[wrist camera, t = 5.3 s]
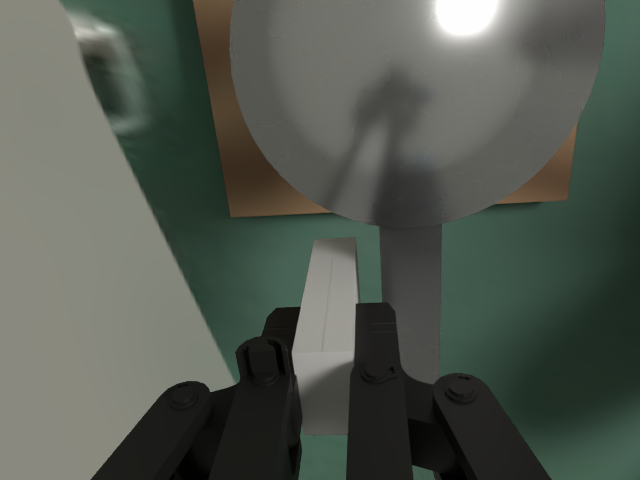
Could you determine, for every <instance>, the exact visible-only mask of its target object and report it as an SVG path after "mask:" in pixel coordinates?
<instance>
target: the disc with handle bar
mask: <svg viewBox="0 0 640 480" xmlns="http://www.w3.org/2000/svg"><path fill="white" fill-rule="evenodd" d="M604 31H605V0H234V3H233V10H232V16H231V23H230V48H229V51H230V62H231V73H232V79H233V83H234V88H235V93H236V97H237V101H238V103H239V106H240V109H241V112H242V115H243V118H244V121H245V123H246V125H247V127H248V129H249V131H250V133H251V135H252V137H253V139H254V141H255V142H256V144H257V145H258V147H259V148H260V150H261V151H262V153H263V155H264V156H265V158H266V159H267V160H268V161H269V163H270V164H271V165H272V166H273V167H274V169H275V170H276V171H277V172H278V173H279V174H280V176H282V177H283V178H284V179H285V180H286V181H287V182H288V183H289V184H290V185H291V186H292V187H293V188H295V189H296V190H297V191H298V192H300V193H301V194H303V195H304V196H305V197H307V198H308V199H310V200H311V201H312V202H314V203H316V204H318V205H319V206H321V207H323V208H325V209H327V210H329V211H331V212H333V213H335V214H338V215H340V216H343V217H346V218H348V219H351V220H355V221H358V222H362V223H366V224H370V225H377V226H379V232H380V257H381V281H382V303H383V302H388V303H389V304H390V306H391V307H392V308H393V309H394V310H395V313H396V323H397V332H398V342H399V352H400V362H401V366H402V368H403V370H404V371H405V373H407V374H408V375H409V376H410V377H412V378H414V379H416V380H418V381H421V382H424V383H429V384H434V383H435V382H436V381H437V380H438V379H439V369H440V305H441V241H442V223H446V222H451V221H455V220H458V219H461V218H463V217H466V216H469V215H472V214H475V213H477V212H479V211H481V210H483V209H485V208H487V207H489V206H492V205H494V204H496V203H497V202H499V201H500V200H502V199H504V198H505V197H507V196H508V195H510V194H511V193H513V192H515V191H516V190H517V189H518V188H520V187H521V186H522V185H523V184H525V183H526V182H527V181H528V180H530V179H531V178H532V177H533V176H534V175H535V174H536V173H537V172H538V171H539V170H540V169H541V168H542V167H543V166H544V165H545V164H546V163H547V162H548V161H549V160H550V159H551V158H552V157H553V155H554V154H555V153H556V152H557V150H558V149H559V148H560V147H561V145H562V144H563V143H564V142H565V140H566V139H567V137H568V136H569V134H570V132H571V131H572V129H573V128H574V126H575V124H576V123H577V121H578V119H579V118H580V115H581V113H582V111H583V109H584V107H585V105H586V103H587V101H588V98H589V96H590V94H591V91H592V88H593V85H594V82H595V79H596V76H597V73H598V69H599V64H600V59H601V54H602V49H603V44H604Z"/></svg>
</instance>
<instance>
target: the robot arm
mask: <svg viewBox="0 0 640 480" xmlns="http://www.w3.org/2000/svg"><path fill="white" fill-rule="evenodd" d="M235 353H236V358H237V363H238V368H239V373H240V381H239V383H237V384H236V385H234V386H231V387H228V388H225V389H222V390H218V391H214V392H210V391H209V388H208V387H207V386H206V385H205V384H203V383H200V382H197V381H187V382H183V383H179V384H176V385H174V386H172V387H170V388H168V389H167V390H166V391H165V392H164V393H163V394H162V395H161V396H160V397H159V398H158V399H157V401H156V402H155V403H154V404H153V405H152V407H151V408H150V409H149V410H148V411H147V413H146V414H145V415H144V416H143V417H142V419H141V420H140V421H139V422H138V423H137V425H136V426H135V427H134V428H133V429H132V431H131V432H130V433H129V434H128V435H127V437H126V438H125V439H124V440H123V441H122V443H121V444H120V445H119V446H118V447H117V449H116V450H115V451H114V452H113V454H112V455H111V456H110V457H109V458H108V459H107V461H106V462H105V463H104V464H103V466H102V467H101V468H100V469H99V470H98V471H97V473H96V474H95V475H94V476H93V477H92V479H91V480H298V477H299V470H300V462H301V455H302V447H301V440H300V432H301V425H302V427H303V434H304V435H348V444H347V470H346V480H413V471H412V465H414V466H418V467H422V468H425V469H429V470H432V471H433V473H434V477H435V479H436V480H551V478H550V477H549V475H548V474H547V472H546V471H545V469H544V468H543V467H542V465H541V464H540V462H539V461H538V459H537V458H536V456H535V455H534V453H533V452H532V451H531V449H530V448H529V446H528V445H527V443H526V442H525V440H524V439H523V437H522V436H521V434H520V433H519V432H518V430H517V429H516V427H515V426H514V424H513V423H512V421H511V420H510V418H509V417H508V416H507V414H506V413H505V411H504V410H503V408H502V407H501V405H500V404H499V402H498V401H497V399H496V398H495V397H494V395H493V394H492V392H491V391H490V389H489V388H488V386H487V385H486V384H485V383H483V382H482V381H481V380H480V379H478V378H476V377H474V376H472V375H467V374H462V373H454V374H448V375H445V376H442V377H440V378H439V379H438V380H437V381H436V382H435V383H434V384H429V383H424V382H421V381H418V380H416V379H414V378H412V377H410V376H409V375H408V374H407V373H405V371H404V370H403V368H402V366H401V362H400V352H399V342H398V332H397V323H396V313H395V310H394V309H393V308H392V307H391V306H390V304H389V303H388V302H383V303H361V301H360V288H359V274H358V260H357V246H356V237H352V238H334V239H315V240H314V245H313V250H312V255H311V259H310V264H309V269H308V274H307V279H306V284H305V289H304V294H303V299H302V304H301V307H286V308H276V309H275V310H274V311H273V312H272V313H271V314H270V315H269V316H268V317H267V320H266V323H265V326H264V330H263V333H262V336H260V337H255V338H252V339H250V340H247V341H245V342H244V343H243V344H241V345H240V346H239V347H238V349H237V350H236V352H235Z"/></svg>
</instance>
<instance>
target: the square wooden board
mask: <svg viewBox="0 0 640 480" xmlns="http://www.w3.org/2000/svg"><path fill="white" fill-rule="evenodd" d="M233 3H234V0H193V4H194V10H195V16H196V21H197V27H198V33H199V39H200V44H201V50H202V56H203V62H204V67H205V73H206V79H207V85H208V90H209V96H210V102H211V108H212V113H213V119H214V125H215V131H216V136H217V142H218V148H219V154H220V159H221V165H222V171H223V176H224V182H225V188H226V194H227V199H228V205H229V211H230V217H231V218H232V217H251V216H271V215H290V214H310V213H329V212H331V211H329V210H327V209H325V208H323V207H321V206H319V205H318V204H316V203H314V202H312V201H311V200H310V199H308V198H307V197H305V196H304V195H303V194H301V193H300V192H298V191H297V190H296V189H295V188H293V187H292V186H291V185H290V184H289V183H288V182H287V181H286V180H285V179H284V178H283V177H282V176H280V174H279V173H278V172H277V171H276V170H275V169H274V167H273V166H272V165H271V164H270V163H269V161H268V160H267V159H266V158H265V156H264V155H263V153H262V151H261V150H260V148H259V147H258V145H257V144H256V142H255V141H254V139H253V137H252V135H251V133H250V131H249V129H248V127H247V125H246V123H245V121H244V118H243V115H242V112H241V109H240V106H239V103H238V101H237V97H236V93H235V88H234V83H233V79H232V73H231V62H230V51H229V48H230V23H231V16H232V10H233ZM577 122H578V121H577ZM576 130H577V123H576V124H575V126H574V128H573V129H572V131H571V132H570V134H569V136H568V137H567V139H566V140H565V142H564V143H563V144H562V145H561V147H560V148H559V149H558V150H557V152H556V153H555V154H554V155H553V157H552V158H551V159H550V160H549V161H548V162H547V163H546V164H545V165H544V166H543V167H542V168H541V169H540V170H539V171H538V172H537V173H536V174H535V175H534V176H533V177H532V178H531V179H530V180H528V181H527V182H526V183H525V184H523V185H522V186H521V187H520V188H518V189H517V190H516V191H515V192H513V193H511V194H510V195H508V196H507V197H505V198H504V199H502V200H500V201H499V202H497V203H496V204H505V203H524V202H543V201H563V200H568V193H569V185H570V177H571V169H572V161H573V154H574V146H575V138H576Z"/></svg>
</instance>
